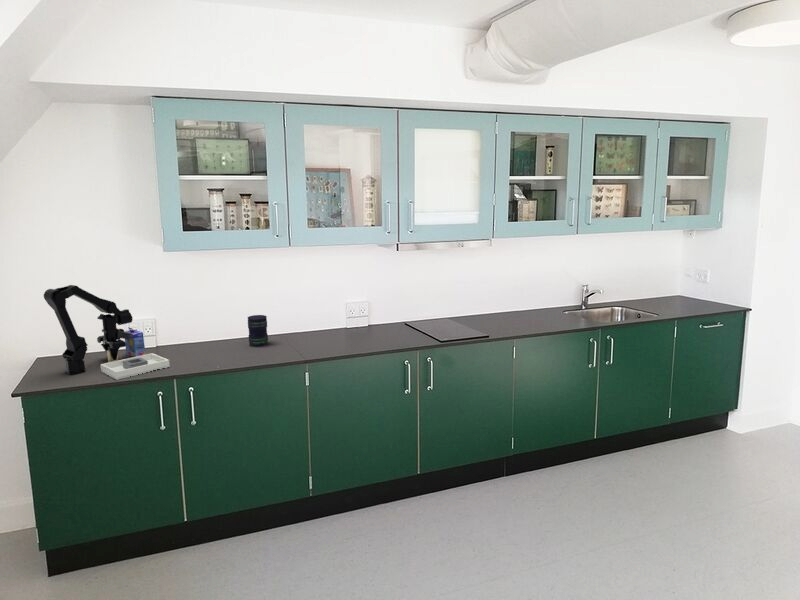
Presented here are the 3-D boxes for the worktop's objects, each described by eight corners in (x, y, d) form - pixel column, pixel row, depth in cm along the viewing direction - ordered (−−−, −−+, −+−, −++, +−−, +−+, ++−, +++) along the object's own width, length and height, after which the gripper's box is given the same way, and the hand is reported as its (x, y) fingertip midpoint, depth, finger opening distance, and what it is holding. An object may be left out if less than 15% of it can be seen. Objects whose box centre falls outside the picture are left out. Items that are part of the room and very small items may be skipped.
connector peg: (111, 363, 286) (109, 351, 285) (108, 362, 288) (106, 350, 287) (118, 361, 288) (117, 349, 287) (115, 360, 291) (114, 348, 290)
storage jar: (245, 347, 312) (244, 318, 310) (253, 342, 322) (251, 314, 319) (264, 347, 311) (262, 319, 308) (271, 342, 320) (269, 315, 318)
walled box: (116, 379, 262) (115, 370, 261) (101, 371, 273) (100, 363, 273) (169, 367, 279) (168, 358, 278) (153, 360, 291) (152, 352, 290)
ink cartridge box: (125, 355, 300) (122, 326, 297) (136, 352, 304) (133, 324, 301) (135, 358, 294) (132, 329, 291) (146, 356, 298) (143, 327, 295)
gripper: (135, 327, 284) (138, 359, 287) (118, 321, 297) (122, 351, 300) (111, 331, 276) (114, 364, 279) (95, 325, 289) (98, 356, 292)
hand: (113, 358), depth 288 cm, fingers open, 4 cm apart
